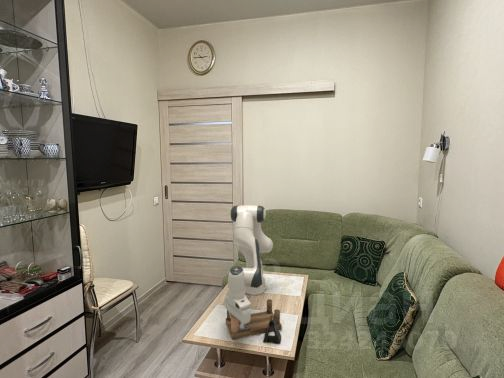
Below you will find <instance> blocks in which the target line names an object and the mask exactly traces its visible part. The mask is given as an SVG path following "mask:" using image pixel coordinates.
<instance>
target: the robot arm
mask: <svg viewBox="0 0 504 378" xmlns="http://www.w3.org/2000/svg"><path fill="white" fill-rule="evenodd" d="M229 214H230V219H231V221H232V222H234V223H235V224H234V229H233V238H234V240H235V246H236V249H237V250H238V251H239V252H240V253H241V254H242V255H243V256H244V258H245V259H244V260H245V262H246V263H245V264H246V266H245V267H242V266H238V265H237V266H232V267H230V268H229V270H228V274H227V288H228V292H226V293H225V296H224V308H225V310H226V311H227V310H228V311H229V314H230V319H231V316H233V315H234V316H235V317H236V318H237V319H239V320H240V321H241V324H240V328H244V324H247V323H249V322H250V319H251V314H252V313H251V308H250V307H251V306H252V305H251V304H252V303H251V301H249V299H248V297H247V295H251V296H253V295H254V296H256V295H261V294H263V293H264V292H265V291H267V289H268V286H266V278H265V277H264V270H263V260H262V259H261V254H266V253H271V252H272V250H273V248H274V243H273V240H272V239H271V238H270V237H268V236H267V235H266V234H265V233H264V231H263V230H262V226H261V225H262V224H261V223H263V222H264V221H265V219H266V217H267V216H266V215H267V212H266V209H265V207H264V206H262V205H255V204H253V205H252V204H247V205H246V204H245V205H244V204H243V205H238V204H237V205H233V206H232V207H231V208H230V212H229ZM246 294H247V295H246Z"/></svg>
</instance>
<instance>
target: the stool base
mask: <svg viewBox="0 0 504 378" xmlns="http://www.w3.org/2000/svg"><path fill="white" fill-rule="evenodd" d="M271 316H272V320H273V317H274V316H275V317H276V323H277V326H278V329H279V331H282V330H283V329H282V328H283V327H282V326H283V325H282V323H281V310H280V309H279V308H277V309H274V310H273V300H272V299H266V310H265V311H259V312H254V313H251V319H250V322H249V323H247V324H244V326H246V325H249V326H250V329H249V330H241V331H238V332H236V333H233V332H231V319H230V314H229V311H228V310H227V309H226V317H225V324H226V327H227V329H228V332H229V335H230V337H231V339H232V340H236V339H242V338H246V337H247V338H249V337H252V336H258V335H262V334H265V333H266V330H267V328H268V325H269V321H270V317H271ZM240 324H241V321H240V320H239V327H240ZM269 333H274V331H273V328H270V331H269Z"/></svg>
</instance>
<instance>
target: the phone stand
mask: <svg viewBox="0 0 504 378" xmlns="http://www.w3.org/2000/svg"><path fill="white" fill-rule="evenodd" d="M270 328H273V331H274V332H273V333H274V335H269V334H270V332H269V331H270ZM280 331H281V330H279V329H278V326H277V323H276V317H275V316H274V317H273V320H272V316H271V317H270V321H269V325H268V328H267V330H266V333H264V336H263V339H262V343H268V344H275V345H281V342H282V334H281V332H280Z"/></svg>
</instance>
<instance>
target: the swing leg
mask: <svg viewBox="0 0 504 378" xmlns="http://www.w3.org/2000/svg"><path fill="white" fill-rule="evenodd" d="M249 329H250V326H249V325H246V326H244V328H240V327H239V319H237V318H236V317H235V316H234V315H233V316H231V332H233V333H236V332H238V331H241V330H249Z"/></svg>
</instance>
